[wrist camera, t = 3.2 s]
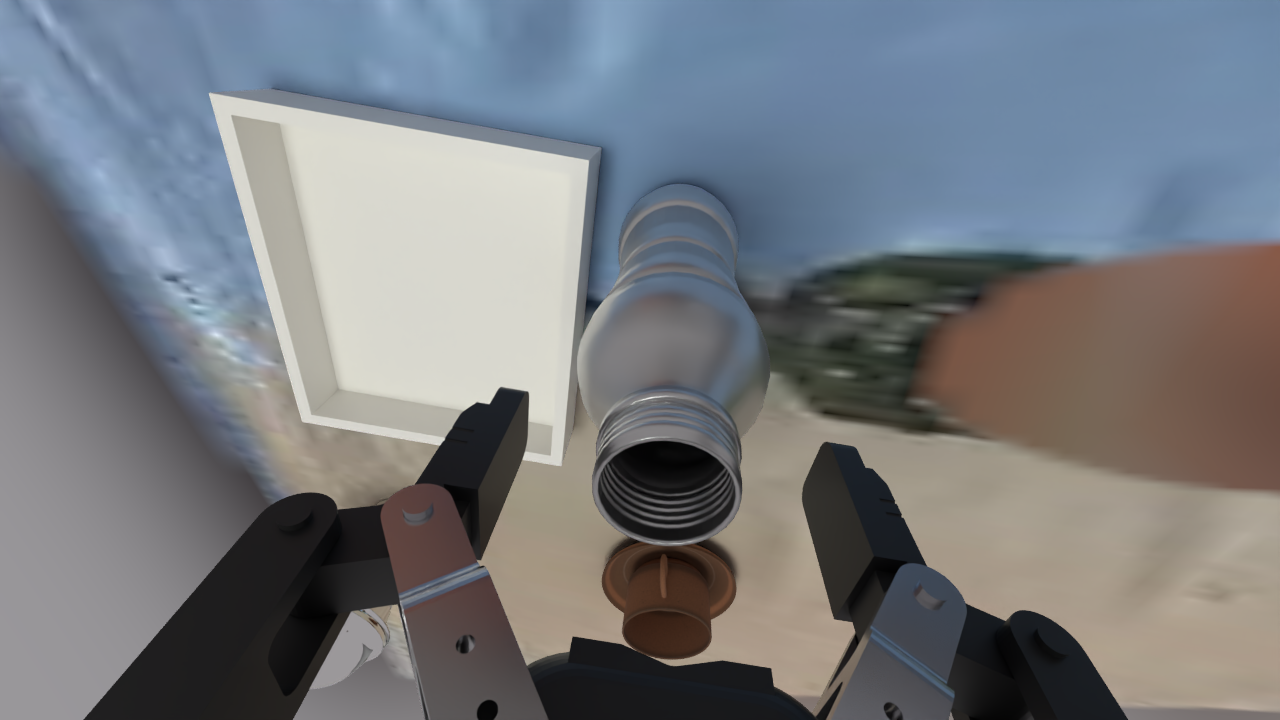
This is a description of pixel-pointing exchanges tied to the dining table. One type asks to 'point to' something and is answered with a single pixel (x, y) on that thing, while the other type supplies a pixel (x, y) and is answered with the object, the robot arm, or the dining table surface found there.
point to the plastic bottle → (673, 372)
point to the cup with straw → (355, 644)
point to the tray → (415, 261)
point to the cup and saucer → (668, 596)
